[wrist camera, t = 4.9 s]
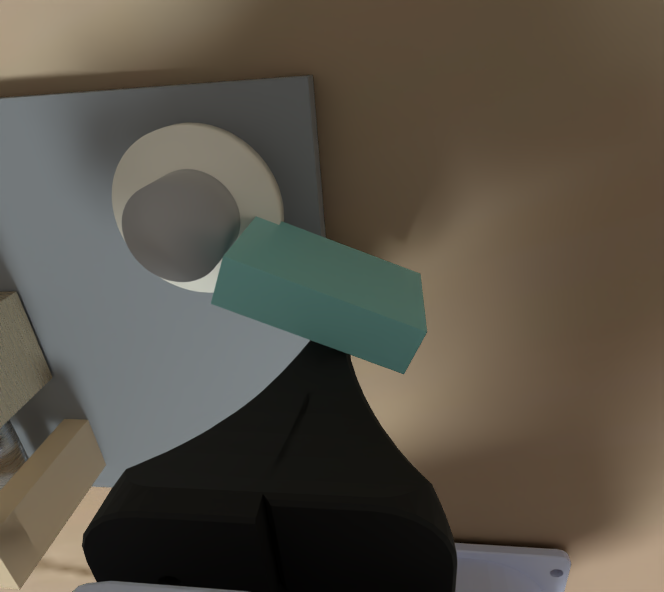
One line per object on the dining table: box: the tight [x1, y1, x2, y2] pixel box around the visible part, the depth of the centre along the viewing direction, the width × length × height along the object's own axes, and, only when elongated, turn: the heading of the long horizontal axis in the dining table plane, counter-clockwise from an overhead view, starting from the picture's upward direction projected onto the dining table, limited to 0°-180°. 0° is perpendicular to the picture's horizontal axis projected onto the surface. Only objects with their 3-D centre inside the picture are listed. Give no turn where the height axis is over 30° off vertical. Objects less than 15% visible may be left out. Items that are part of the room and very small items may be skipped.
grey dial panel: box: [0, 75, 326, 590], centre depth 14 cm, size 15×15×6 cm
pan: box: [112, 123, 427, 374], centre depth 11 cm, size 8×4×3 cm, turn 70°
